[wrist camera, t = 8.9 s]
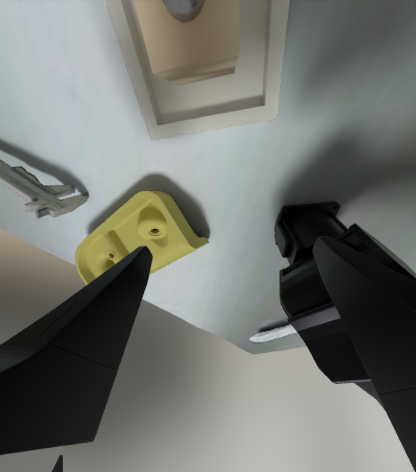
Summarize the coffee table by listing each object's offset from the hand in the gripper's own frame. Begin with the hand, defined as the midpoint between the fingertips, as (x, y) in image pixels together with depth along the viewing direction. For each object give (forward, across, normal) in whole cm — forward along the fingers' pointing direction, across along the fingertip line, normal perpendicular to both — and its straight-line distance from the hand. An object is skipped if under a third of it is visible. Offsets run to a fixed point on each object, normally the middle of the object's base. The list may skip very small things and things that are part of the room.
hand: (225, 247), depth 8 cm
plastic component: (+12, +14, +8) cm, 20 cm away
